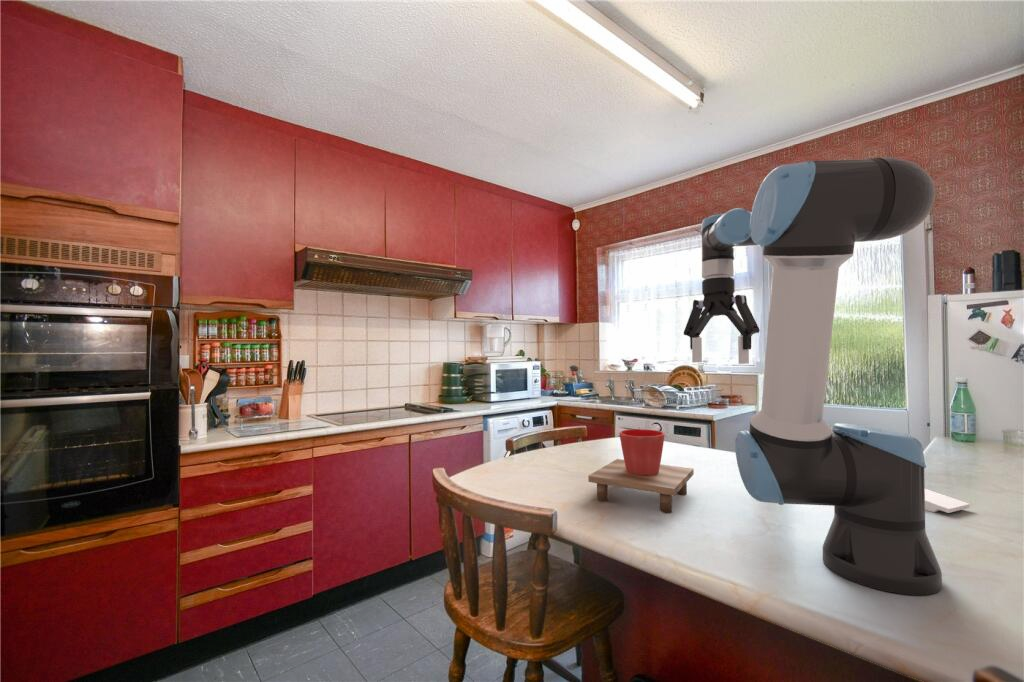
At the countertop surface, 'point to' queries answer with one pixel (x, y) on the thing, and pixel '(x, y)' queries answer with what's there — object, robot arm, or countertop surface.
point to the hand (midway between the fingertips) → (719, 363)
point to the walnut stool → (643, 481)
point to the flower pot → (642, 450)
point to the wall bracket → (942, 503)
